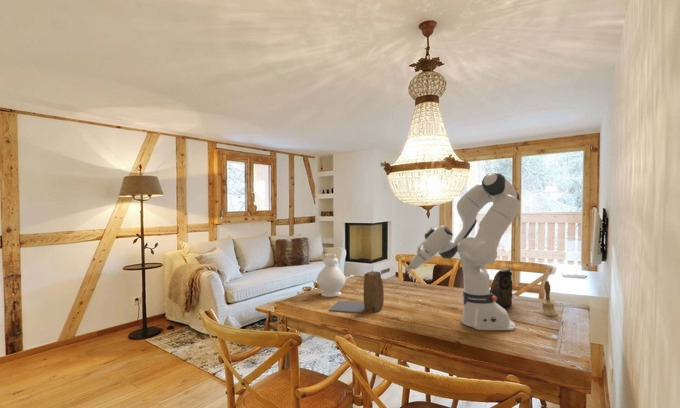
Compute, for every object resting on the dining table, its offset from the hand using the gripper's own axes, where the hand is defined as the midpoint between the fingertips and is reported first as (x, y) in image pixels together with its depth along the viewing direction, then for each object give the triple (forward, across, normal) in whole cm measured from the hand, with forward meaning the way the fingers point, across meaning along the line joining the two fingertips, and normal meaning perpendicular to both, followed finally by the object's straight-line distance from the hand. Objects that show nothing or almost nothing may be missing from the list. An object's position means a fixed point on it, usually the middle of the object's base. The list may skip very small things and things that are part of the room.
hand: (406, 270), depth 176 cm
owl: (-18, -23, +49) cm, 57 cm away
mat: (+37, -2, -7) cm, 38 cm away
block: (+28, 0, +3) cm, 28 cm away
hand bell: (-32, -12, +63) cm, 72 cm away
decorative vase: (+50, -26, -20) cm, 60 cm away
